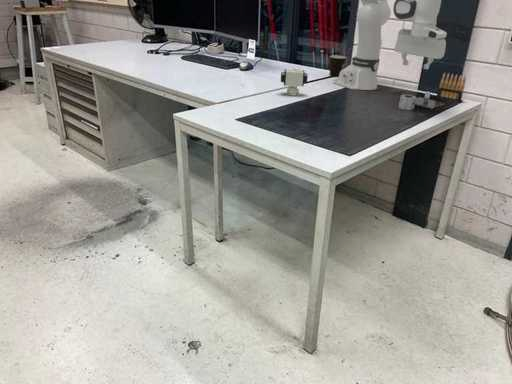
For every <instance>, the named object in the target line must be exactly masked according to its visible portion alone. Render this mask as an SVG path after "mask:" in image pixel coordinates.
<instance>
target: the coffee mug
mask: <svg viewBox="0 0 512 384" xmlns="http://www.w3.org/2000/svg"><path fill="white" fill-rule="evenodd" d="M346 59H347V57H346V56H344V55H339V54H338V55H336V54H334V55H330V56H329V76H330V77H333V78H338V77H339V74H340V72H341V70H343V69H344V67H345V62H346Z"/></svg>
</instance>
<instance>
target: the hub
mask: <svg viewBox="0 0 512 384" xmlns="http://www.w3.org/2000/svg"><path fill="white" fill-rule="evenodd" d="M416 98H417V97H416V95H413V94H401V95H400V99H399V103H398V108H399V109H401V110H405V111H413V110H415V102H416ZM412 109H413V110H412Z"/></svg>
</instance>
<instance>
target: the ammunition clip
mask: <svg viewBox="0 0 512 384" xmlns="http://www.w3.org/2000/svg"><path fill="white" fill-rule="evenodd" d="M466 78H467V76H466V75H464V76H463V79H462V74H460V75H459V77H458V74H456V75H455V76H454V73H451V76H450V72H448V73H447V74H446V72H444V73H443V74H442V78H441V80H440V83H439V87H438V90H437V93H436V96H435V98H436V97H437V98H442V99H448V100H457V101H460V100H461V101H462V98H463V93H464V89H465V85H466V80H467V79H466ZM437 98H436V99H437ZM442 99H441V100H442ZM448 100H447V101H448Z"/></svg>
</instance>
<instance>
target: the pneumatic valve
mask: <svg viewBox="0 0 512 384" xmlns="http://www.w3.org/2000/svg"><path fill="white" fill-rule="evenodd" d="M283 70H284V71H282V72H281V73H280V83H283V86H285V87H286V86H288V88H286V94H287V95H288V96H290V97H291V96H293V97H296V96H297V95H299V94H300V93H299V92H300V90H299V88H298V87H304V85H305V84H307V83H308V73H306V72H305V70H304V69H297V68H295V67H293V69H286V68H285V69H283Z"/></svg>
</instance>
